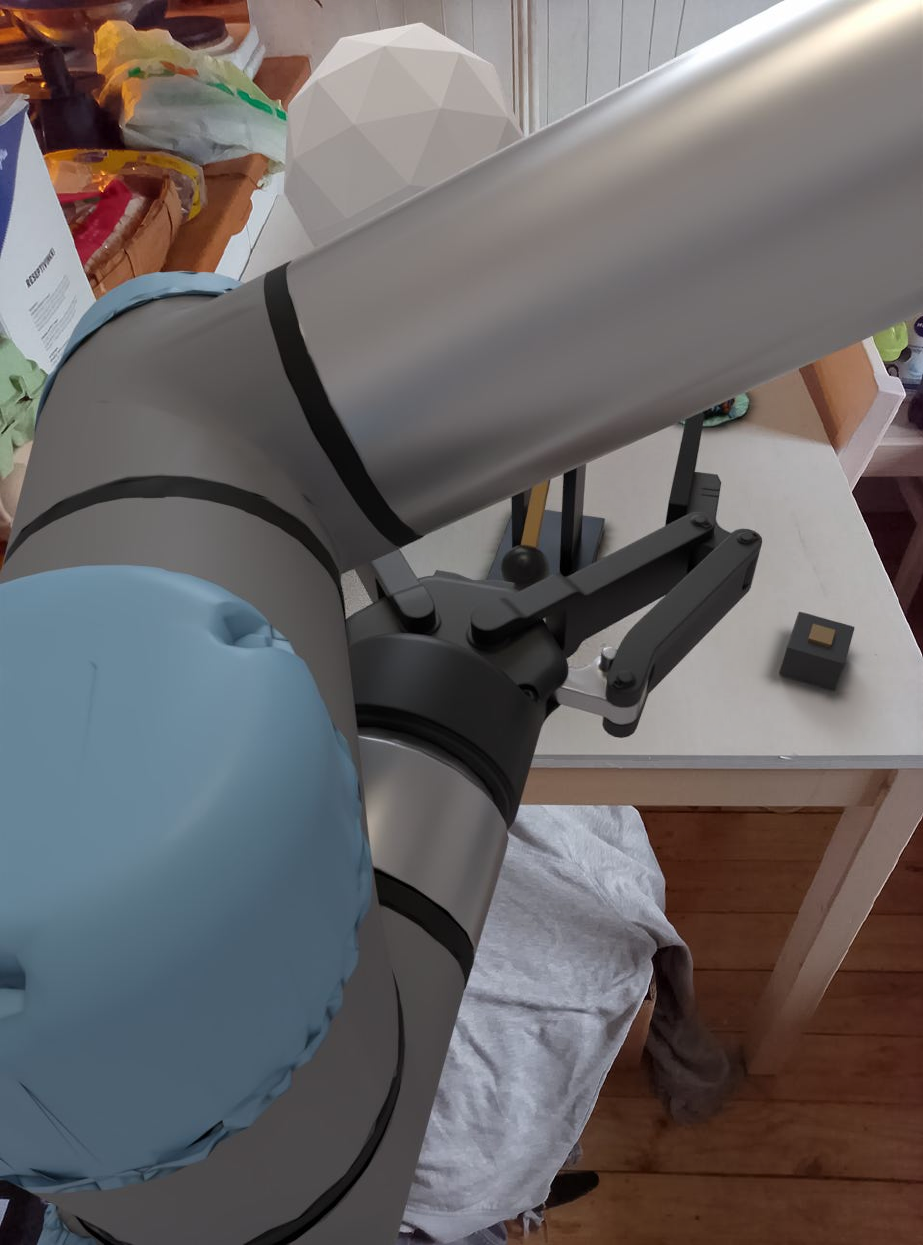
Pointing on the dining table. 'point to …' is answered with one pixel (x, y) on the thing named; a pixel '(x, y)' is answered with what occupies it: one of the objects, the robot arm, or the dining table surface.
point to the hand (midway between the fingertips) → (544, 420)
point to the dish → (725, 411)
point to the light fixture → (388, 125)
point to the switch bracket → (556, 530)
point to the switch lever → (528, 546)
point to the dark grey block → (817, 651)
